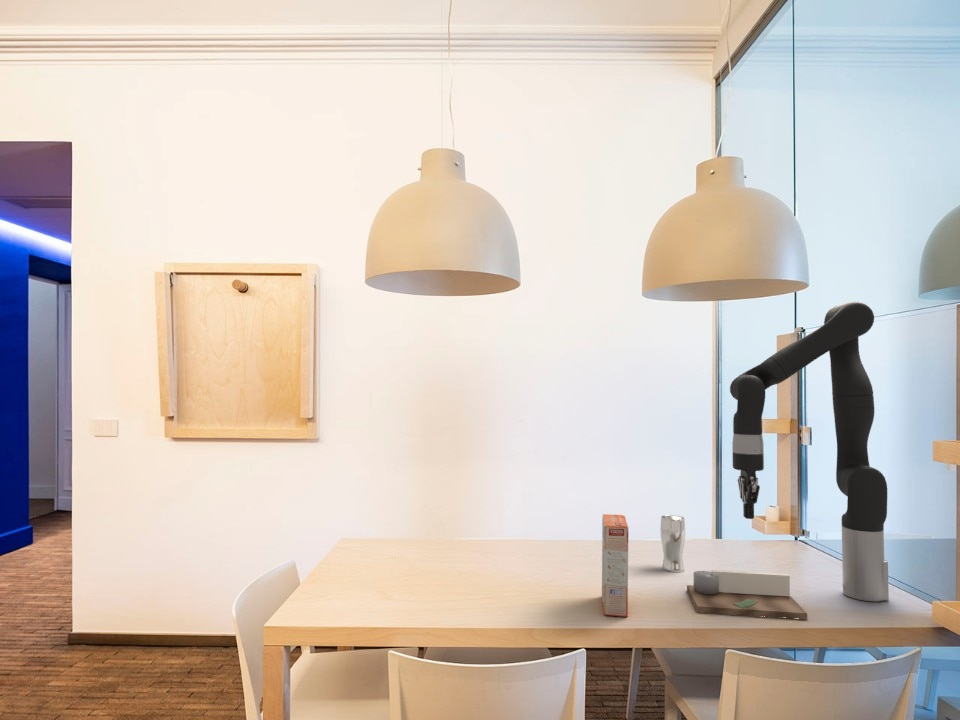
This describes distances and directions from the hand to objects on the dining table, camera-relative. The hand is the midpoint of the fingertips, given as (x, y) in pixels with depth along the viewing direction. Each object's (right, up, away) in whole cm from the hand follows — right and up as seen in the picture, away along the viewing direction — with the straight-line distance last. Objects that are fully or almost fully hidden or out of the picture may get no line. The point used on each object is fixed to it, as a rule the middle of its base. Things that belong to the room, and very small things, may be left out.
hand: (748, 517), depth 163 cm
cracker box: (-38, -19, -12) cm, 44 cm away
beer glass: (-14, -20, +19) cm, 31 cm away
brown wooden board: (-6, -19, -10) cm, 22 cm away
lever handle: (-5, -17, -7) cm, 19 cm away
